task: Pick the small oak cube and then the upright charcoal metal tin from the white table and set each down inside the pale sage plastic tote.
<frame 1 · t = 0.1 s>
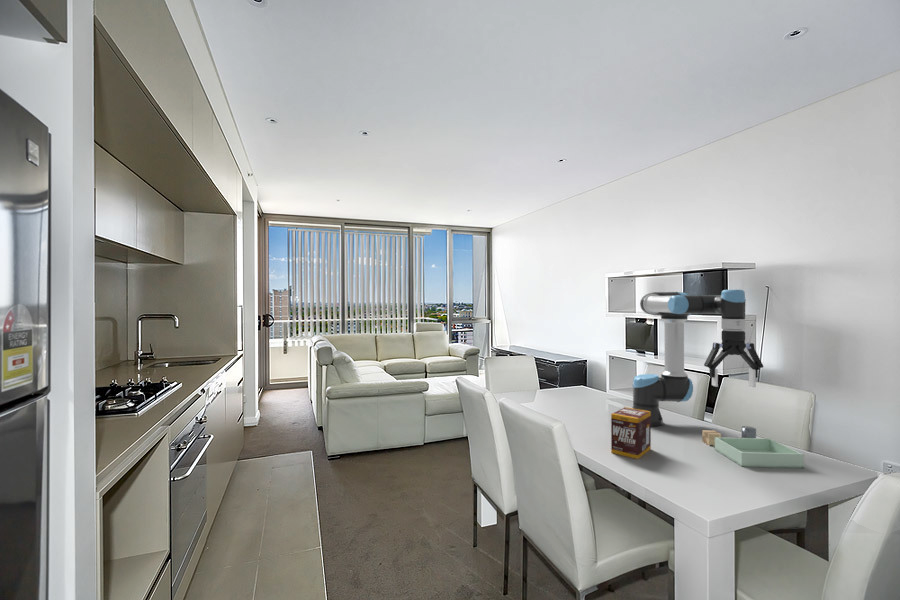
hand: (733, 386, 159), 28 cm above the table, fingers open, 13 cm apart
grey tin: (748, 444, 176), on the table
supplement box: (631, 451, 169), on the table
tote: (756, 458, 161), on the table
oak cube: (711, 444, 177), on the table
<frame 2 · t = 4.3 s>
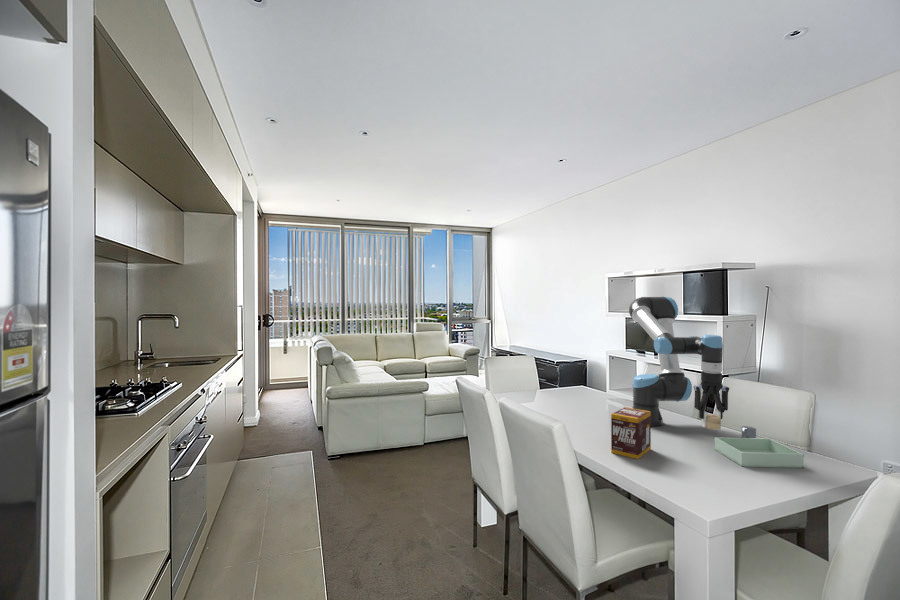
hand: (710, 426, 178), 7 cm above the table, fingers closed on oak cube, 5 cm apart
oak cube: (711, 427, 177), point 7 cm above the table, touching gripper
everything else where it was.
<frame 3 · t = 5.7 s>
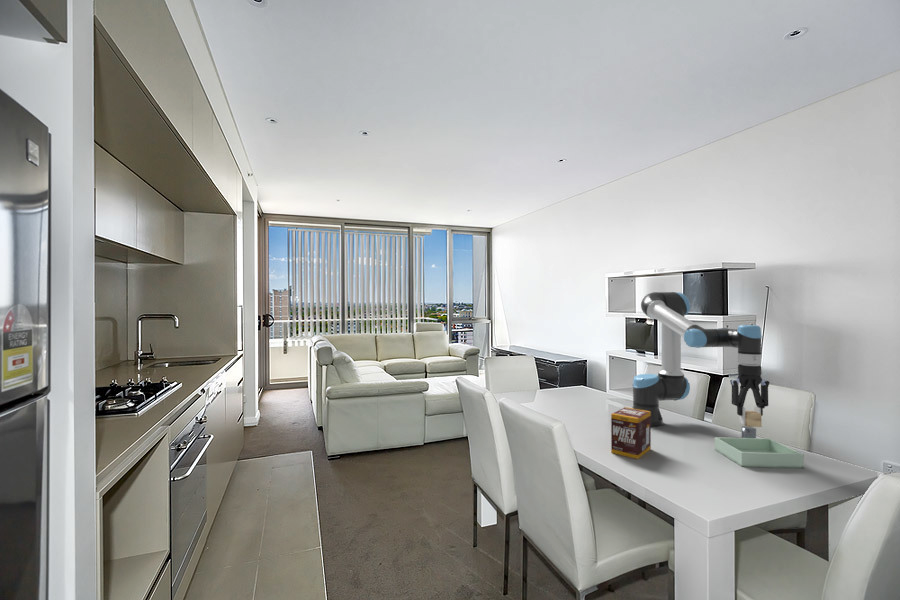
hand: (749, 423, 165), 12 cm above the table, fingers closed on oak cube, 5 cm apart
oak cube: (750, 425, 164), point 12 cm above the table, touching gripper
everything else where it was.
when the fingers open (1 cm above the table, at t = 7.5 s): oak cube stays where it is, resting on tote.
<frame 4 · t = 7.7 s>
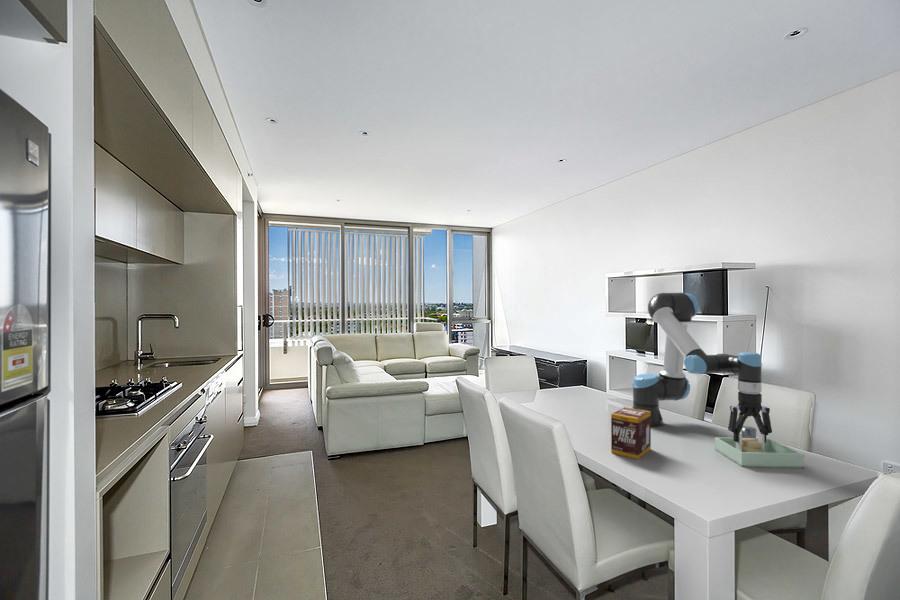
hand: (749, 450, 165), 2 cm above the table, fingers open, 8 cm apart
oak cube: (750, 453, 164), point 1 cm above the table, touching tote
everything else where it was.
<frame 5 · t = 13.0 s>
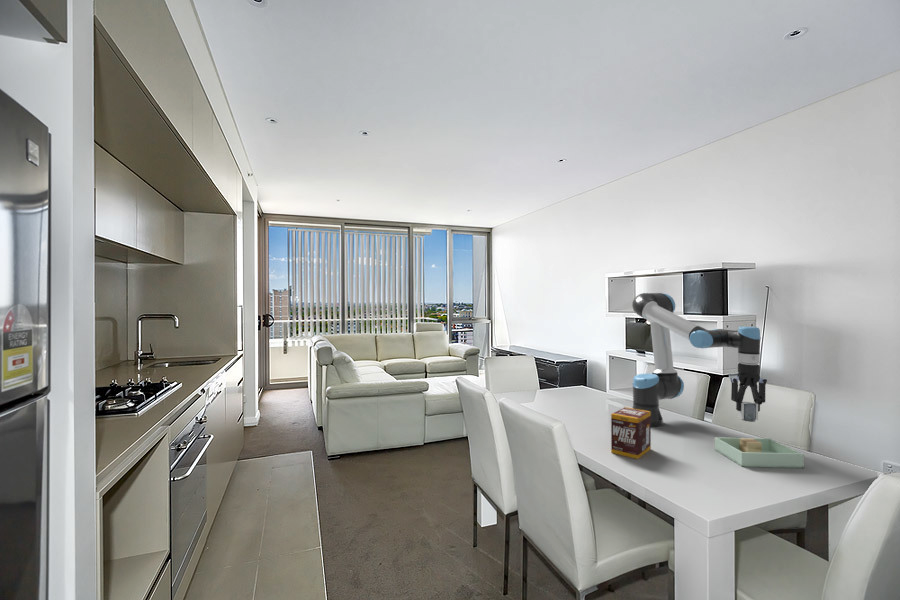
hand: (747, 418, 176), 11 cm above the table, fingers closed on grey tin, 5 cm apart
grey tin: (748, 419, 176), point 10 cm above the table, touching gripper
everything else where it was.
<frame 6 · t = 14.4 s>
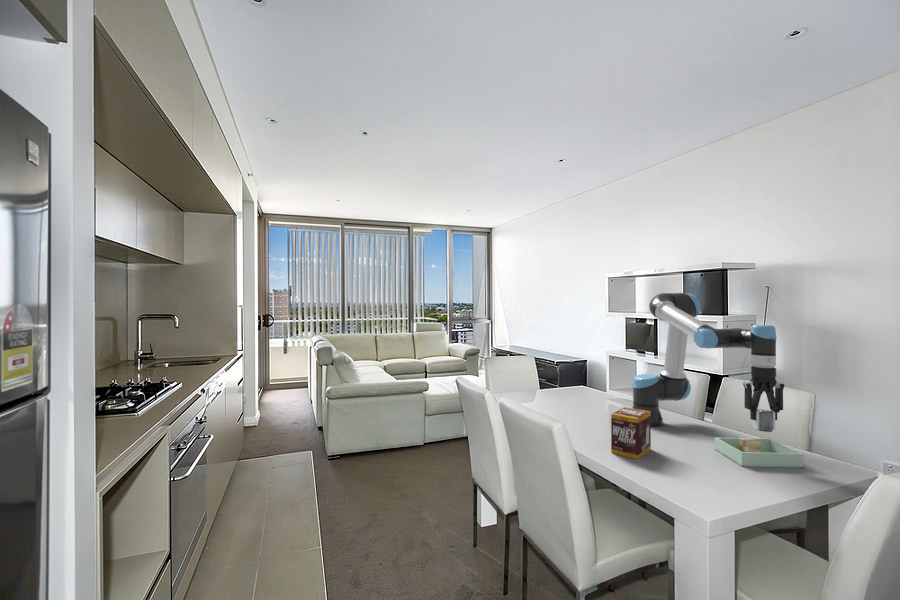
hand: (763, 428, 157), 13 cm above the table, fingers closed on grey tin, 5 cm apart
grey tin: (764, 429, 156), point 12 cm above the table, touching gripper
everything else where it was.
when the fingers open (1 cm above the table, at t = 16.3 s): grey tin stays where it is, resting on tote.
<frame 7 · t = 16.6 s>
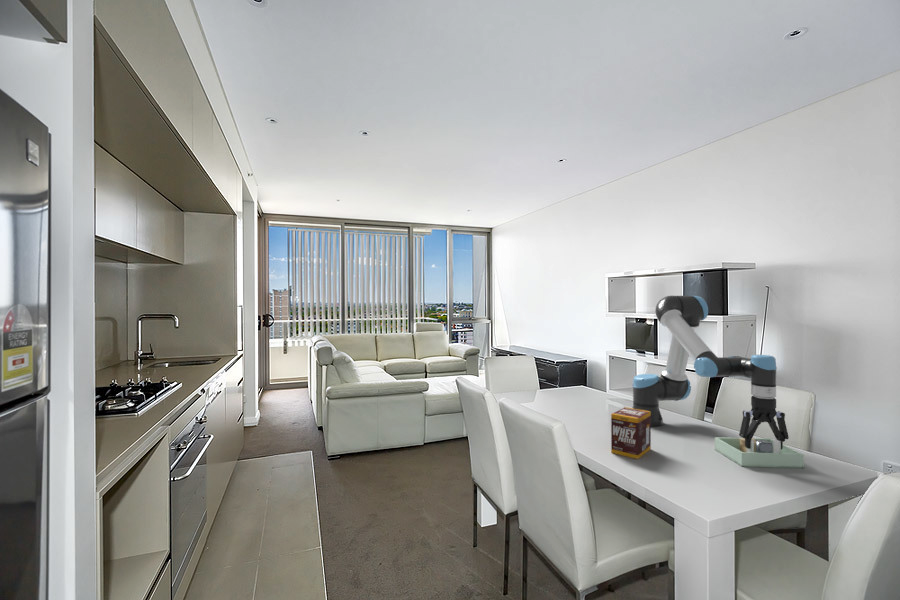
hand: (763, 457, 157), 2 cm above the table, fingers open, 9 cm apart
grey tin: (764, 460, 156), point 1 cm above the table, touching tote
everything else where it was.
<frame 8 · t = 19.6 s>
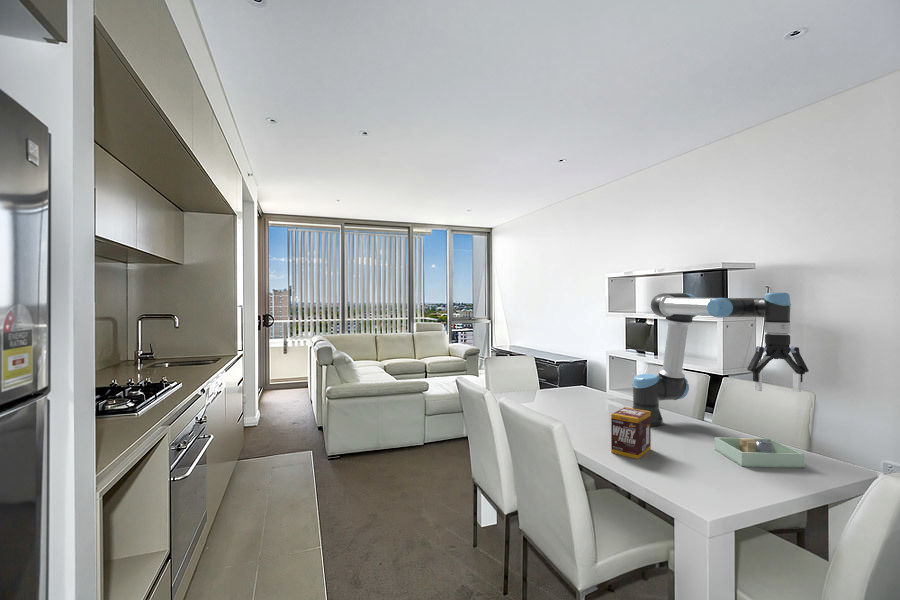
hand: (777, 390, 156), 27 cm above the table, fingers open, 13 cm apart
nothing on the table moved.
at the end: oak cube inside the target area on the tote (3.6 cm from its centre), point 0.6 cm above the tote's base; grey tin inside the target area on the tote (4.1 cm from its centre), point 0.6 cm above the tote's base; the gripper is holding nothing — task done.
